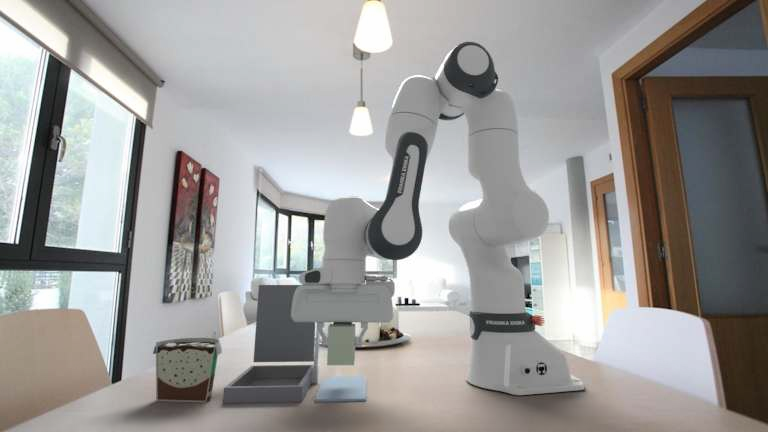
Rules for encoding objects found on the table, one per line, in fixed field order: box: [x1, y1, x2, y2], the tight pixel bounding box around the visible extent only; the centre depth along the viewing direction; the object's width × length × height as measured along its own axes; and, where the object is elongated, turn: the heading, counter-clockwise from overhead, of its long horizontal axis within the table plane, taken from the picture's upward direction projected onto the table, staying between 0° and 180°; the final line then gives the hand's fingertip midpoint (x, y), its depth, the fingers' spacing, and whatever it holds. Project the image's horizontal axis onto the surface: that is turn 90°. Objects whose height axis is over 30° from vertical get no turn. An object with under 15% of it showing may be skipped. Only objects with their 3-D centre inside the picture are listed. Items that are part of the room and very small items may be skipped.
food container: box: [152, 337, 223, 403], centre depth 71 cm, size 12×6×10 cm, turn 84°
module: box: [326, 322, 357, 366], centre depth 76 cm, size 5×7×7 cm
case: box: [222, 329, 321, 404], centre depth 76 cm, size 15×18×13 cm
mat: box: [314, 375, 367, 403], centre depth 74 cm, size 9×15×1 cm, turn 3°
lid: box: [253, 284, 316, 363], centre depth 86 cm, size 13×17×1 cm
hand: (342, 345), depth 76 cm, fingers closed on module, 5 cm apart
